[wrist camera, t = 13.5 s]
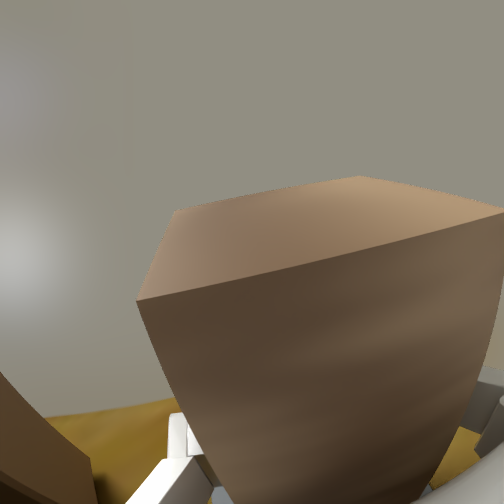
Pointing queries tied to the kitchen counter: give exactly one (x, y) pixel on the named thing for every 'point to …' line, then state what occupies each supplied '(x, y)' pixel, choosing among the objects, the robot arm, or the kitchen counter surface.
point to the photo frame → (38, 458)
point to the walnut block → (326, 334)
